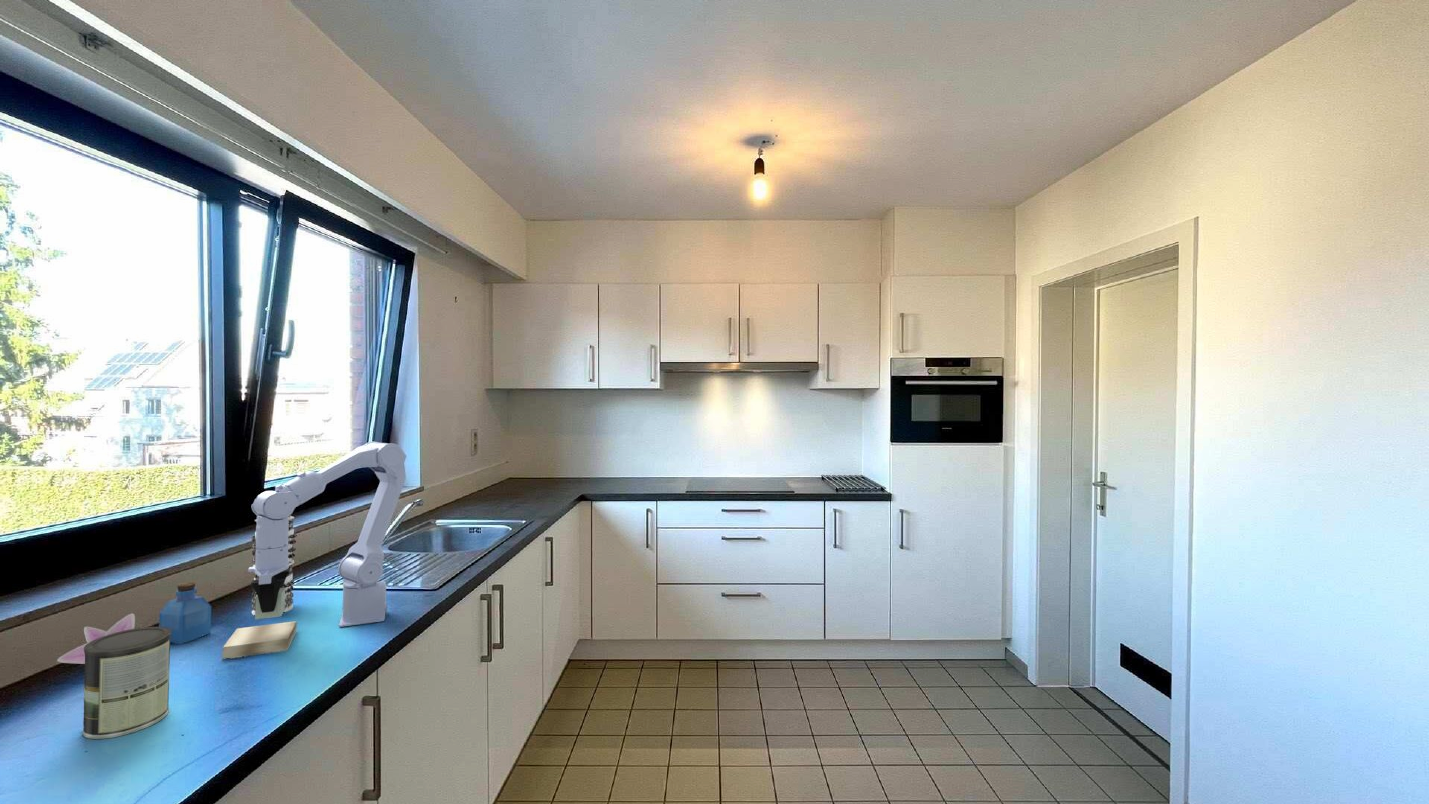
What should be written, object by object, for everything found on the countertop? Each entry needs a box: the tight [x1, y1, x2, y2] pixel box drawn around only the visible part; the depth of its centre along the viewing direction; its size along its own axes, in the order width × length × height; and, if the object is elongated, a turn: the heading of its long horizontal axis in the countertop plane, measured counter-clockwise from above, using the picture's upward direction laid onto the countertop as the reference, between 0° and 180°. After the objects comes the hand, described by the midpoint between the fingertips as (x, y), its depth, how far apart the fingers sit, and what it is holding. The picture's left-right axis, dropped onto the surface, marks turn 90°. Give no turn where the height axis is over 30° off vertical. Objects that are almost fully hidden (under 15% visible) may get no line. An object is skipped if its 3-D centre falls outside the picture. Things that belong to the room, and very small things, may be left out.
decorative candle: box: [251, 514, 298, 616], centre depth 148 cm, size 9×9×25 cm
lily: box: [56, 613, 136, 665], centre depth 114 cm, size 12×12×10 cm
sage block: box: [254, 588, 285, 620], centre depth 127 cm, size 4×4×5 cm
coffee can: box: [82, 626, 171, 740], centre depth 97 cm, size 10×10×14 cm
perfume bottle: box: [158, 581, 212, 645], centre depth 131 cm, size 6×6×12 cm
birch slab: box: [222, 620, 298, 660], centre depth 128 cm, size 11×11×3 cm
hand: (270, 607), depth 127 cm, fingers closed on sage block, 4 cm apart
